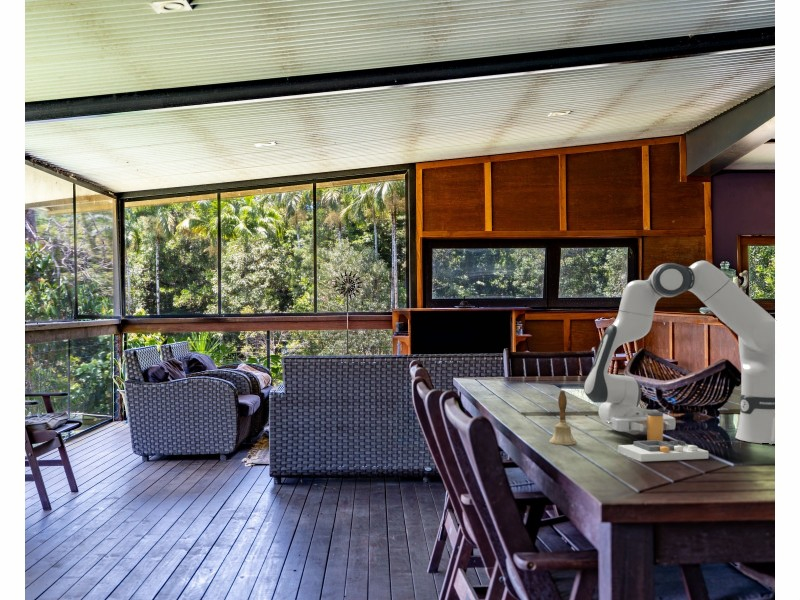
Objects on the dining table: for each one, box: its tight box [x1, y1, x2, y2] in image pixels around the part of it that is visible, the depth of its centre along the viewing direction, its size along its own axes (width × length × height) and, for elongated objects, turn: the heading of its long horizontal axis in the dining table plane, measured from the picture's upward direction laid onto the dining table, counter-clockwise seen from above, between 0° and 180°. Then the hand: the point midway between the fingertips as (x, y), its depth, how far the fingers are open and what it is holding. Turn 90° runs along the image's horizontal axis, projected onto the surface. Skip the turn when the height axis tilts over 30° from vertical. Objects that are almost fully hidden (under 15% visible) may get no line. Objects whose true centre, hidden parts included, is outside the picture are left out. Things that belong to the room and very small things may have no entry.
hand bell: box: [548, 390, 578, 446], centre depth 215 cm, size 8×8×16 cm
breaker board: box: [617, 440, 709, 462], centre depth 198 cm, size 21×12×3 cm, turn 102°
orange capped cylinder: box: [646, 411, 664, 441], centre depth 212 cm, size 4×4×10 cm
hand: (656, 427), depth 211 cm, fingers open, 7 cm apart
